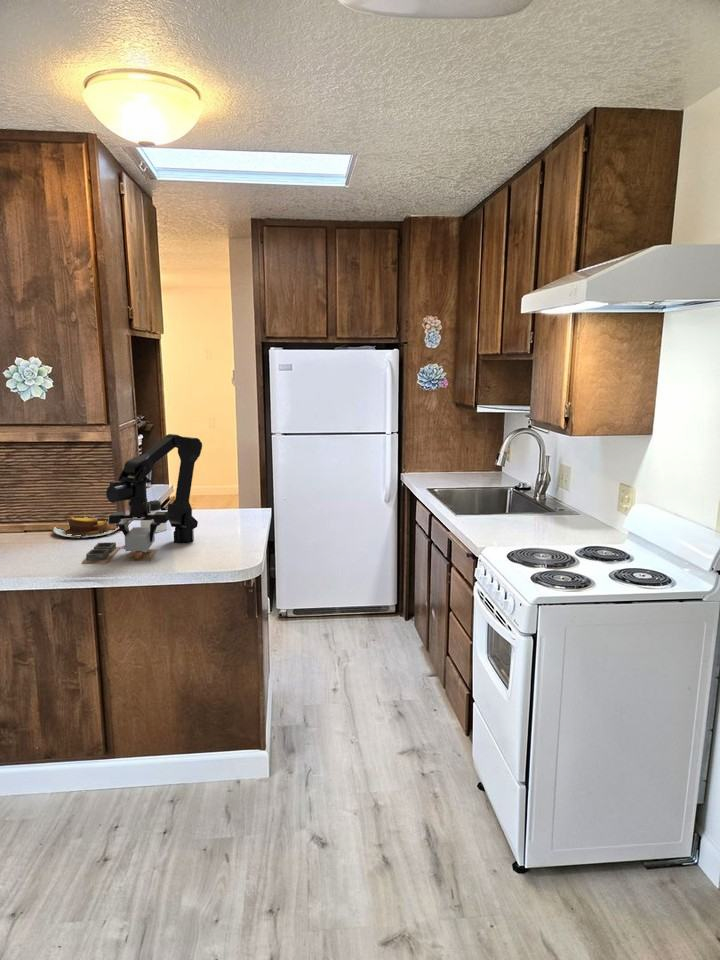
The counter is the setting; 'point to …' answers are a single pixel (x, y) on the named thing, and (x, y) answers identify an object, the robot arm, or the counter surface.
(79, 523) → the food on plate
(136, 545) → the housing
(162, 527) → the medicine bottle
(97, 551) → the socket board
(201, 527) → the counter surface
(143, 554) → the plate
